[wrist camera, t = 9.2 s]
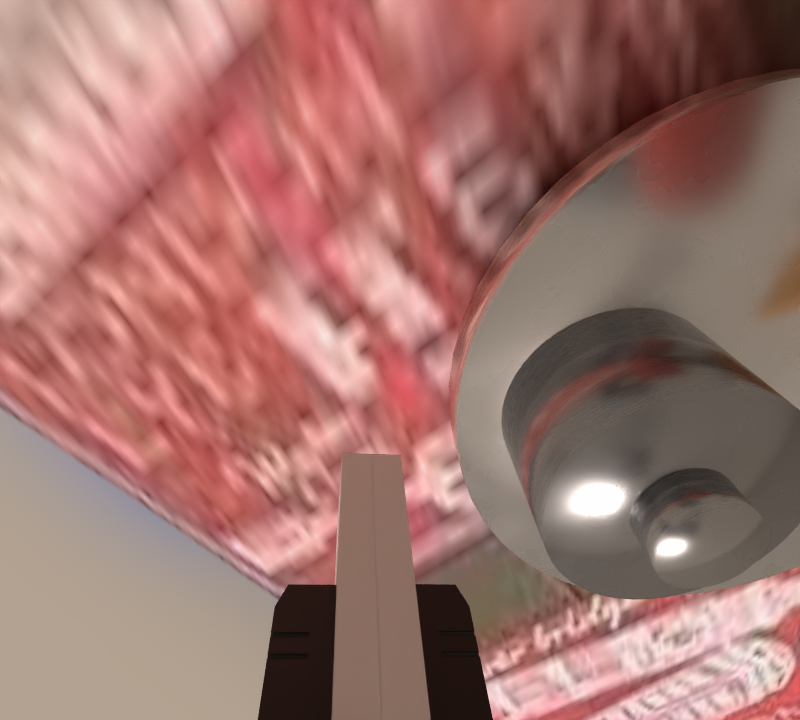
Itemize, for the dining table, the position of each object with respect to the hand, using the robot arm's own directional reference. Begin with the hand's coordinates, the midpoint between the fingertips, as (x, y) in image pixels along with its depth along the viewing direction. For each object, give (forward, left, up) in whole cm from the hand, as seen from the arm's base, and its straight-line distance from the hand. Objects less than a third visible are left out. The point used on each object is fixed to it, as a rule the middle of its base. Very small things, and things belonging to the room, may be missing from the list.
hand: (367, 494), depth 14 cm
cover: (+5, +8, -5) cm, 10 cm away
